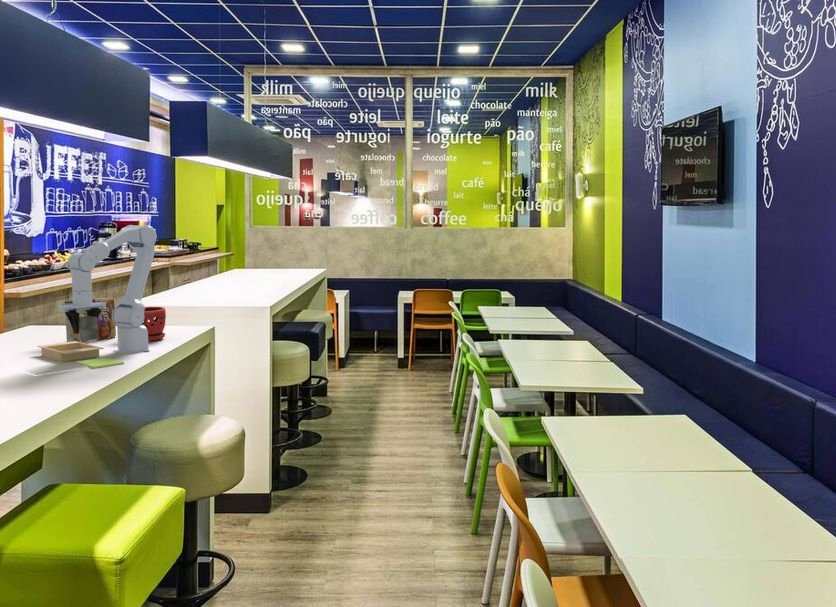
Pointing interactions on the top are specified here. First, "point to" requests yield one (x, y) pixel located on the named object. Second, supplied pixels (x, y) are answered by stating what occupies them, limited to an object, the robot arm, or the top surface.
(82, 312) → the coffee box
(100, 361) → the mat
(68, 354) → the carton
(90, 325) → the box
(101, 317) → the candy box
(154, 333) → the plant pot
